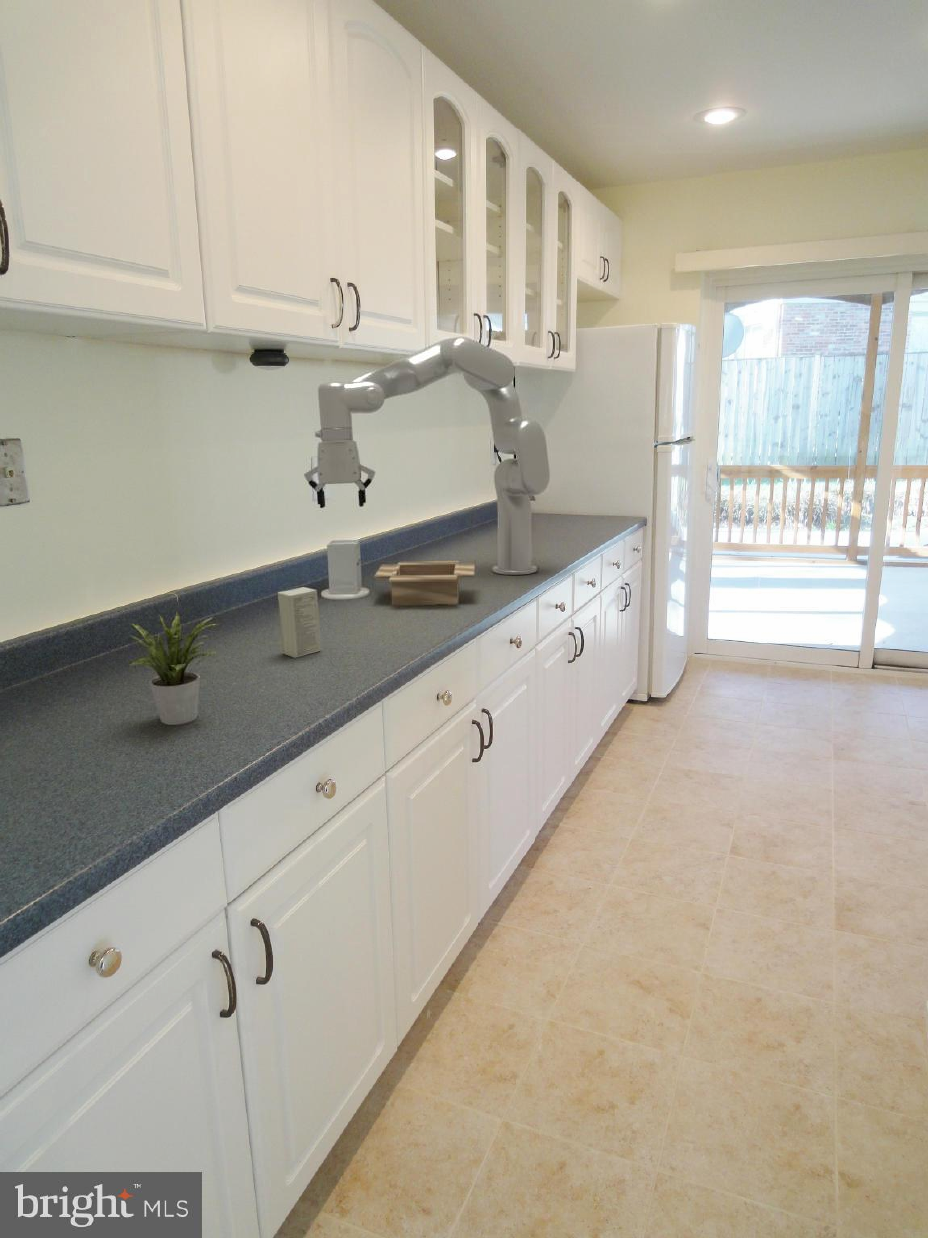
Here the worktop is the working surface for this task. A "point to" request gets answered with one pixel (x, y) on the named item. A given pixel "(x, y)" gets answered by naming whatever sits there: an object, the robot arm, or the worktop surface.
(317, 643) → the skincare box
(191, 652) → the house plant
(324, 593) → the plate
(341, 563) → the supplement box
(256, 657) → the worktop surface
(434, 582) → the carton
